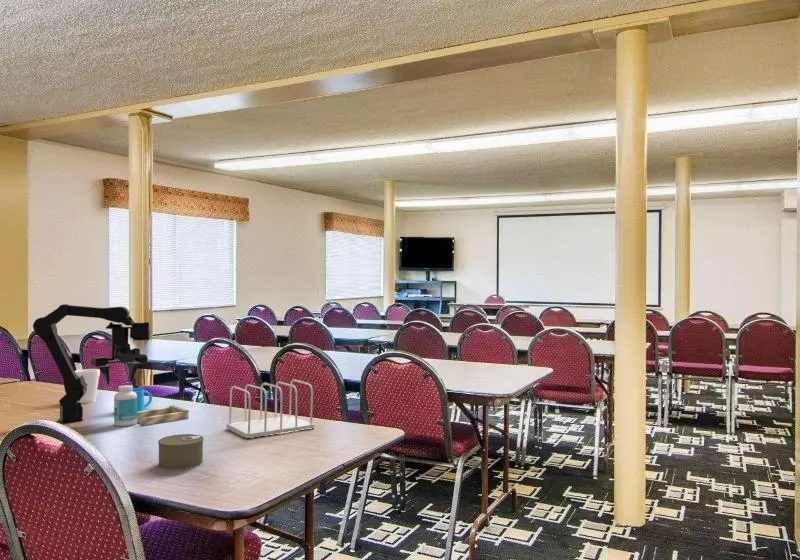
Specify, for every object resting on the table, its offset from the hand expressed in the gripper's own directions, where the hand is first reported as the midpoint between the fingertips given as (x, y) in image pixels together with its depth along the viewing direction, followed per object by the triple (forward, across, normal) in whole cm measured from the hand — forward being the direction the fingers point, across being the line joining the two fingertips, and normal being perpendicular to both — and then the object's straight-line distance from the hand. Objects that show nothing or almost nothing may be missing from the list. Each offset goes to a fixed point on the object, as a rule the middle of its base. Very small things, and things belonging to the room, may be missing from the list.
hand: (119, 383), depth 231 cm
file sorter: (+13, +30, -53) cm, 62 cm away
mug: (+13, +11, +10) cm, 20 cm away
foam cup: (+13, +4, +41) cm, 43 cm away
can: (+13, -11, -69) cm, 71 cm away
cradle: (+13, +9, -11) cm, 20 cm away
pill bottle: (+13, -2, -11) cm, 17 cm away
